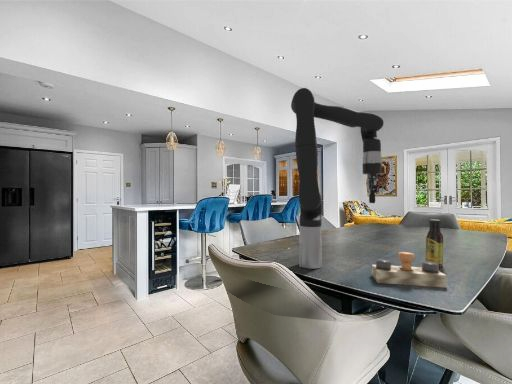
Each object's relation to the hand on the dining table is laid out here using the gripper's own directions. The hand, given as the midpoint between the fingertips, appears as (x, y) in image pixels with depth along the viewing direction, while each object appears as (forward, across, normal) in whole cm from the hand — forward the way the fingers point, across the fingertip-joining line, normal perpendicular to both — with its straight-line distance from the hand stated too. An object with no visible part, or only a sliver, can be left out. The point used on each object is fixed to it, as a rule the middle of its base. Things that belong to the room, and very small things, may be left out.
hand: (372, 203), depth 111 cm
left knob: (+27, +18, 0) cm, 32 cm away
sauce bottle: (+27, -6, +26) cm, 38 cm away
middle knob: (+24, +18, +8) cm, 31 cm away
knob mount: (+27, +18, +8) cm, 33 cm away
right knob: (+27, +18, +15) cm, 36 cm away
